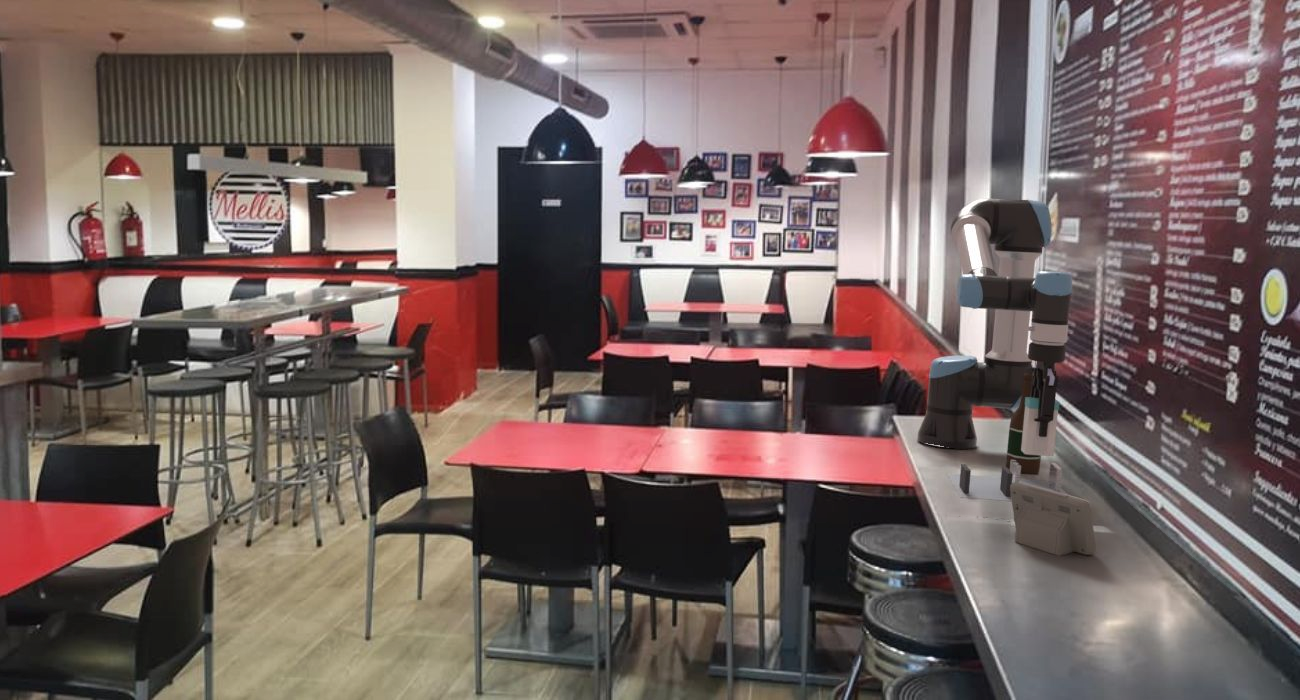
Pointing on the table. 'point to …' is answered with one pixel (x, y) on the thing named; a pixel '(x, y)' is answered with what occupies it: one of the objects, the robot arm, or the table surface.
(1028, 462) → the beer bottle
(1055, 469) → the port
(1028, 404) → the white and teal box
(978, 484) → the panel
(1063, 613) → the table surface
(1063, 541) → the digital clock
